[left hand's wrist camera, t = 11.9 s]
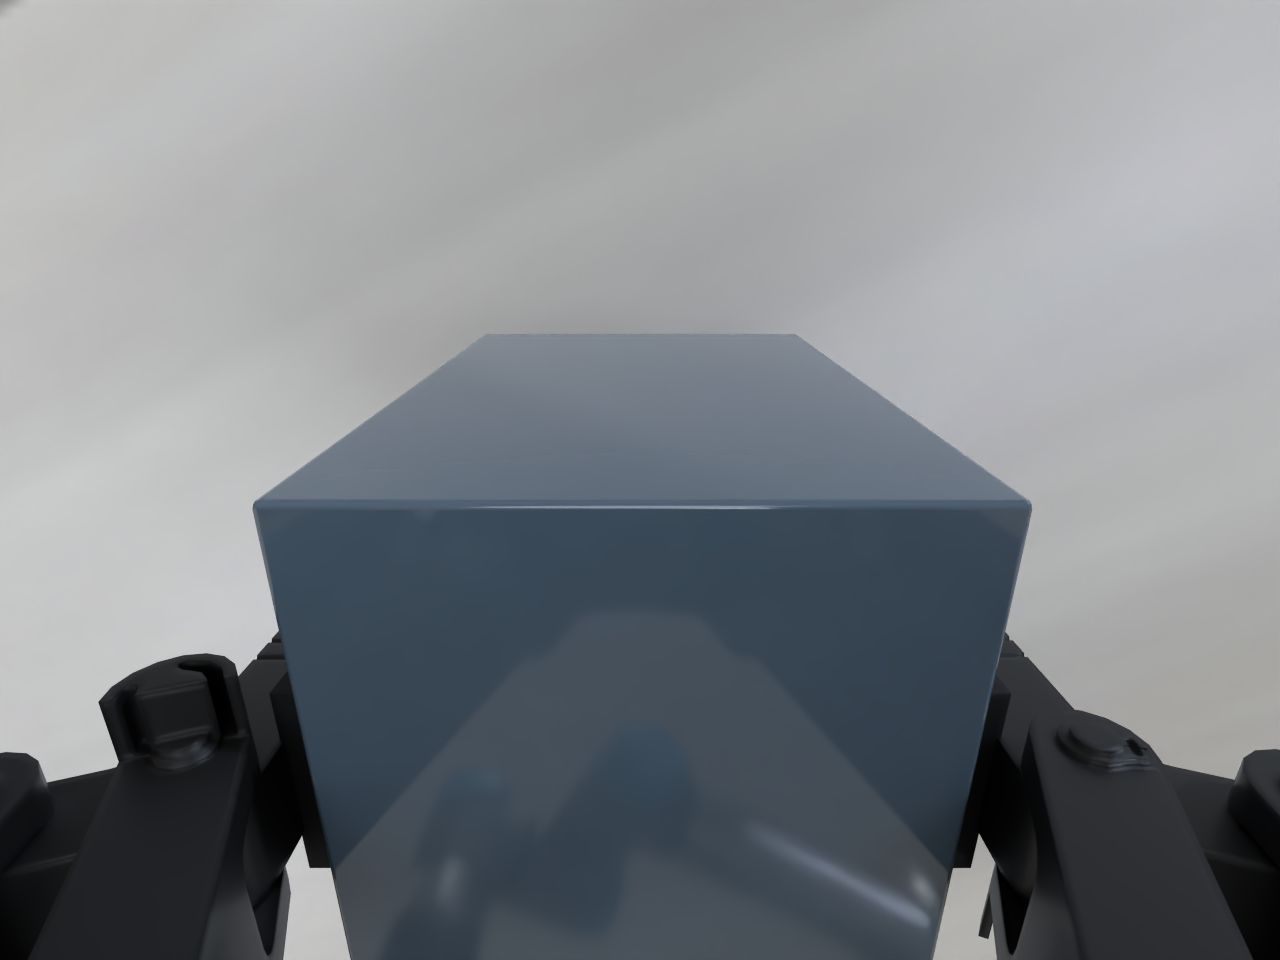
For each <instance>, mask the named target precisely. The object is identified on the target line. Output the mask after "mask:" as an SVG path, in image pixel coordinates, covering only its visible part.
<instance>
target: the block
mask: <svg viewBox="0 0 1280 960" xmlns="http://www.w3.org/2000/svg"><path fill="white" fill-rule="evenodd" d="M1031 512H1032V505H1031V502H1030V501H1029V500H1027V499H1026V498H1025V497H1023V496H1022V495H1020V494H1019V493H1018V492H1016V491H1015V490H1013V489H1012V488H1011V487H1009V486H1008V485H1006V484H1005V483H1004V482H1002V481H1001V480H999V479H998V478H997V477H995V476H994V475H992V474H991V473H990V472H988V471H987V470H985V469H984V468H983V467H981V466H980V465H978V464H977V463H976V462H974V461H973V460H971V459H970V458H969V457H967V456H966V455H964V454H963V453H961V452H960V451H959V450H957V449H956V448H954V447H953V446H952V445H950V444H949V443H947V442H946V441H945V440H943V439H942V438H940V437H939V436H938V435H936V434H935V433H933V432H932V431H931V430H929V429H928V428H926V427H925V426H924V425H922V424H921V423H919V422H918V421H917V420H915V419H914V418H912V417H911V416H910V415H908V414H907V413H905V412H904V411H903V410H901V409H900V408H898V407H897V406H896V405H894V404H893V403H891V402H890V401H888V400H887V399H886V398H884V397H883V396H881V395H880V394H879V393H877V392H876V391H874V390H873V389H872V388H870V387H869V386H867V385H866V384H865V383H863V382H862V381H860V380H859V379H858V378H856V377H855V376H853V375H852V374H851V373H849V372H848V371H846V370H845V369H844V368H842V367H841V366H839V365H838V364H837V363H835V362H834V361H832V360H831V359H830V358H828V357H827V356H825V355H824V354H823V353H821V352H820V351H818V350H817V349H815V348H814V347H813V346H811V345H810V344H808V343H807V342H806V341H804V340H803V339H801V338H800V337H799V336H797V335H795V334H487V335H485V336H483V337H482V338H481V339H479V340H478V341H476V342H475V343H474V344H472V345H471V346H469V347H468V348H467V349H465V350H464V351H463V352H461V353H460V354H458V355H457V356H456V357H454V358H453V359H451V360H450V361H449V362H447V363H446V364H444V365H443V366H442V367H440V368H439V369H438V370H436V371H435V372H433V373H432V374H431V375H429V376H428V377H426V378H425V379H424V380H422V381H421V382H419V383H418V384H417V385H415V386H414V387H413V388H411V389H410V390H408V391H407V392H406V393H404V394H403V395H401V396H400V397H399V398H397V399H396V400H395V401H393V402H392V403H390V404H389V405H388V406H386V407H385V408H383V409H382V410H381V411H379V412H378V413H376V414H375V415H374V416H372V417H371V418H370V419H368V420H367V421H365V422H364V423H363V424H361V425H360V426H358V427H357V428H356V429H354V430H353V431H352V432H350V433H349V434H347V435H346V436H345V437H343V438H342V439H340V440H339V441H338V442H336V443H335V444H333V445H332V446H331V447H329V448H328V449H327V450H325V451H324V452H322V453H321V454H320V455H318V456H317V457H315V458H314V459H313V460H311V461H310V462H308V463H307V464H306V465H304V466H303V467H302V468H300V469H299V470H297V471H296V472H295V473H293V474H292V475H290V476H289V477H288V478H286V479H285V480H284V481H282V482H281V483H279V484H278V485H277V486H275V487H274V488H272V489H271V490H270V491H268V492H267V493H265V494H264V495H263V496H261V497H260V498H259V499H257V500H256V501H255V502H254V504H253V513H254V518H255V523H256V527H257V532H258V536H259V541H260V546H261V550H262V555H263V559H264V564H265V568H266V573H267V578H268V582H269V587H270V591H271V596H272V601H273V605H274V610H275V614H276V619H277V623H278V628H279V633H280V637H281V642H282V646H283V651H284V656H285V660H286V665H287V669H288V674H289V678H290V683H291V688H292V692H293V697H294V701H295V706H296V710H297V715H298V720H299V724H300V729H301V733H302V738H303V743H304V747H305V752H306V756H307V761H308V765H309V770H310V775H311V779H312V784H313V788H314V793H315V798H316V802H317V807H318V811H319V816H320V820H321V825H322V830H323V834H324V839H325V843H326V848H327V852H328V857H329V862H330V866H331V871H332V875H333V880H334V885H335V889H336V894H337V898H338V903H339V907H340V912H341V917H342V921H343V926H344V930H345V935H346V940H347V944H348V949H349V953H350V958H351V960H933V956H934V951H935V947H936V942H937V938H938V933H939V929H940V924H941V919H942V915H943V910H944V906H945V901H946V897H947V892H948V888H949V883H950V879H951V874H952V870H953V865H954V861H955V856H956V852H957V847H958V843H959V838H960V833H961V829H962V824H963V820H964V815H965V811H966V806H967V802H968V797H969V793H970V788H971V784H972V779H973V775H974V770H975V766H976V761H977V757H978V752H979V747H980V743H981V738H982V734H983V729H984V725H985V720H986V716H987V711H988V707H989V702H990V698H991V693H992V689H993V684H994V680H995V675H996V671H997V666H998V661H999V657H1000V652H1001V648H1002V643H1003V639H1004V634H1005V630H1006V625H1007V621H1008V616H1009V612H1010V607H1011V603H1012V598H1013V594H1014V589H1015V584H1016V580H1017V575H1018V571H1019V566H1020V562H1021V557H1022V553H1023V548H1024V544H1025V539H1026V535H1027V530H1028V526H1029V521H1030V517H1031Z"/></svg>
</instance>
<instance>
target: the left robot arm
mask: <svg viewBox="0 0 1280 960" xmlns="http://www.w3.org/2000/svg"><path fill="white" fill-rule="evenodd" d="M99 705H100V708H101V711H102V714H103V717H104V720H105V723H106V726H107V729H108V731H109V734H110V737H111V740H112V743H113V746H114V749H115V752H116V755H117V758H118V761H119V763H118V765H117V767H115V768H112V769H108V770H103V771H99V772H94V773H90V774H85V775H80V776H76V777H71V778H66V779H62V780H57V781H52V782H48V783H47V782H46V779H45V777H44V774H43V772H42V769H41V767H40V764H39V762H38V760H36V759H35V758H33V757H31V756H30V755H28V754H27V753H11V752H4V753H0V960H283V956H284V947H285V939H286V930H287V921H288V912H289V904H290V895H291V892H290V885H289V878H288V874H287V870H286V866H285V865H286V863H287V862H288V860H289V858H290V856H291V854H292V853H293V851H294V849H295V847H296V845H297V844H298V842H299V840H300V838H301V836H302V837H303V841H304V845H305V849H306V854H307V858H308V862H309V867H310V868H331V866H330V862H329V857H328V852H327V848H326V843H325V839H324V834H323V830H322V825H321V820H320V816H319V811H318V807H317V802H316V798H315V793H314V788H313V784H312V779H311V775H310V770H309V765H308V761H307V756H306V752H305V747H304V743H303V738H302V733H301V729H300V724H299V720H298V715H297V710H296V706H295V701H294V697H293V692H292V688H291V683H290V678H289V674H288V669H287V665H286V660H285V656H284V651H283V646H282V642H281V637H280V633H279V631H278V633H277V634H276V635H275V636H274V637H273V638H272V643H268V644H267V645H266V646H265V647H264V648H263V649H262V651H261V652H260V653H259V654H258V655H257V660H253V661H252V662H251V663H250V664H249V665H248V666H247V668H246V669H245V670H244V671H243V672H242V673H241V674H240V675H239V677H238V674H237V670H236V666H235V664H234V663H233V662H232V661H230V660H229V659H227V658H226V657H225V656H220V655H213V654H207V653H205V654H194V655H183V656H179V657H175V658H172V659H168V660H164V661H160V662H157V663H155V664H152V665H150V666H148V667H145V668H143V669H141V670H139V671H136V672H134V673H132V674H130V675H129V676H127V677H126V678H124V679H123V680H121V681H120V682H118V683H117V684H115V685H114V686H112V687H111V688H110V689H109V691H108V692H107V693H106V694H105V695H104V696H103V697H102V698H101V700H100V701H99ZM978 834H980V836H981V837H982V839H983V841H984V843H985V845H986V846H987V848H988V850H989V852H990V854H991V855H992V857H993V859H994V861H995V866H994V870H993V874H992V878H991V882H990V886H989V890H988V894H987V898H986V902H985V906H984V910H983V914H982V918H981V923H980V930H979V936H980V937H984V938H987V939H988V938H989V934H990V930H991V927H992V923H993V928H994V936H995V945H996V954H997V960H1280V750H1277V749H1272V750H1255V751H1254V752H1252V753H1251V754H1249V755H1247V756H1246V757H1244V758H1243V761H1242V763H1241V766H1240V768H1239V771H1238V773H1237V776H1236V778H1235V780H1233V779H1228V778H1223V777H1219V776H1214V775H1209V774H1205V773H1200V772H1196V771H1191V770H1186V769H1182V768H1177V767H1172V766H1169V765H1165V764H1162V762H1161V760H1160V759H1159V757H1158V756H1157V755H1156V753H1155V752H1154V751H1153V749H1152V748H1151V747H1150V745H1148V744H1147V743H1146V742H1145V741H1143V740H1142V739H1141V738H1139V737H1138V736H1137V735H1135V734H1134V733H1133V732H1132V731H1130V730H1129V729H1127V728H1125V727H1123V726H1121V725H1119V724H1117V723H1115V722H1113V721H1111V720H1109V719H1107V718H1104V717H1100V716H1097V715H1094V714H1091V713H1087V712H1084V711H1079V710H1074V709H1073V708H1072V706H1071V705H1070V704H1069V703H1068V702H1067V701H1066V700H1065V699H1064V697H1063V696H1062V695H1061V694H1060V693H1059V692H1058V691H1057V690H1056V688H1055V687H1054V686H1053V685H1052V684H1051V683H1050V682H1049V681H1048V680H1047V678H1046V677H1045V676H1044V675H1043V674H1042V673H1041V672H1040V671H1039V669H1038V668H1037V667H1036V666H1035V665H1034V664H1033V663H1032V662H1031V660H1030V659H1029V658H1028V657H1024V653H1023V652H1022V650H1021V649H1020V648H1019V647H1018V646H1017V645H1016V644H1015V643H1014V641H1010V640H1009V636H1008V635H1007V634H1006V632H1005V634H1004V639H1003V643H1002V648H1001V652H1000V657H999V661H998V666H997V671H996V675H995V680H994V684H993V689H992V693H991V698H990V702H989V707H988V711H987V716H986V720H985V725H984V729H983V734H982V738H981V743H980V747H979V752H978V757H977V761H976V766H975V770H974V775H973V779H972V784H971V788H970V793H969V797H968V802H967V806H966V811H965V815H964V820H963V824H962V829H961V833H960V838H959V843H958V847H957V852H956V856H955V861H954V865H953V868H971V864H972V860H973V856H974V852H975V847H976V843H977V839H978Z"/></svg>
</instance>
